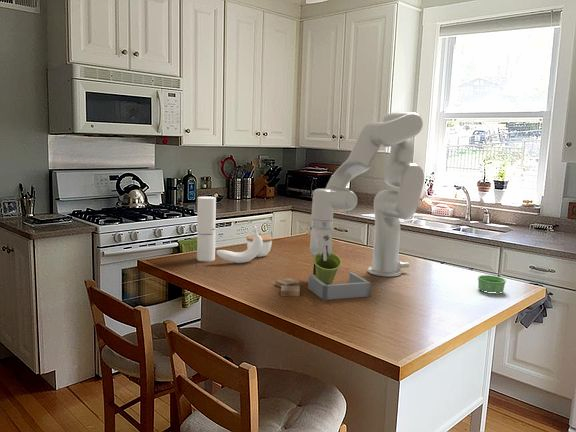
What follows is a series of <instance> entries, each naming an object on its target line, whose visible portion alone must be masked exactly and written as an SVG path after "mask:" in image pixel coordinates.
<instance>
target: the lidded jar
mask: <svg viewBox="0 0 576 432" xmlns="http://www.w3.org/2000/svg"><path fill="white" fill-rule="evenodd" d="M257 233H258V234H259V235H260V236H261V238H262V241H263V243H262V248H261V250H260V252H259V253H258V255H257V256H256V257H258V258H261V257H262V256H263V257H266V256H267V255H268V254H269V252H270V251H271V249H272V244H273V237H272V236H271V235H266V234H261V232H257ZM253 239H254V234H251V235H250V234H249V235H247V236H246V247H247V249H248V248H249V247H250V246H251V244H252V242H253ZM256 257H255V258H256Z"/></svg>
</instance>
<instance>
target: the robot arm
mask: <svg viewBox="0 0 576 432" xmlns="http://www.w3.org/2000/svg"><path fill="white" fill-rule="evenodd" d="M423 125H424V123H423V119H422V117H421V115H420V114H419V113H416V112H414V111H413V112H411V111H409V112H408V111H407V112H405V111H403V112H402V111H401V112H399V111H398V112H397V111H396V112H391V113H388V114H386V115H385V116H384V117H383V119H382V121H381V122H380V121H379V122H377V121H375V122H374V121H373V122H368V123H366V124H365V125H364V126H363V127H362V129H361V131H360V133H359V135H358V137H357V140H356V141H355V143H354V145H353V147H352V149H351V152H350V154H349V156H348V158H347V159H345V161H344V162H343V163H342V164H340V166H339V167H338V168H337V169H336V170H335V171H334V172H333V173H332V174H331V176H330V178H329V180H328V182H327V184H326V187H324V188H316V189H314V190H313V192H312V202H311V203H312V205H311V215H310V216H311V219H310V220H311V221H310V229H311V233H310V242H309V251H310V253H311V254H312V257H313V258H314V257H315V255H317V254H318V253H319V258H320V257H321V254H322V260H321V262H326V261H327V254H326V252H328V255H329V257H331V253H333V233H332V232H333V231H332V230H333V220H334V211H335V210H336V211H342V212H348V211H352V210H353V209H354V208H356V206H357V204H358V201H359V200H358V197H357V195H356V193H355V192H353V191H352V190H350V189H346V187H347V186H348V184H349V183H350V182H351V181H352V180H353V179H354V178H355V177H358V176H359V175H362V174H363V173H364V174H365V172H367V171H369V170H370V169H371V167H372V164H373V163H374V161H375V158H376V156H377V154H378V152H379V150H380V148H381V147H384V148H387V147H388V148H390V151H389V155H388V160H387V164H386V168H385V172H384V182H385V184H387V186H390V187H393V188H398V190H392V189H383V190H380V191H378V192H377V194H376V195H375V196H374V198H373V199H374V200H373V210H374V234H373V235H374V236H373V246H372V247H373V249H372V264H371V266H369V267H368V268H367V272H368V273H369V274H371V275H374V276H377V277H379V276H380V277H387V278H388V277H389V278H390V277H391V278H393V277H398V276H402V268H406V269H407V268H409V267H410V263H409V262H402V261H399V251H400V240H401V239H400V238H401V237H400V235H401V222H400V220H408V219H411V218H412V217H413V216H414V214H415V213H416V211H417V209H418V206H419V201H420V198H421V194H422V191H423V186H424V183H425V174H424V170H423V169H422V167H421V166H420V165H419V164H416V163H413V157H414V153H415V147H414V146H415V145H414V142H413V141H414V140H413V139H412V138H414V137H416V136H417V135H418V134H419V133H420V132H421V130H422V129H423ZM312 272H313V274H312V275H313V276H314V277H316V266H315V263H313V271H312Z"/></svg>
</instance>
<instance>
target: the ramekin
mask: <svg viewBox="0 0 576 432" xmlns="http://www.w3.org/2000/svg"><path fill="white" fill-rule="evenodd" d="M477 280H478V281H477V283H478V288H479V289H480V290H483V291H487V292H496V293H500V292H503V293H504V289H505V284H507V283H506V282H507V280H506V279H504V277H500V276H496V275H488V274H487V275H486V274H485V275H484V274H483V275H479V276H478V277H477ZM479 289H478V290H479ZM480 290H479V291H480Z"/></svg>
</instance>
